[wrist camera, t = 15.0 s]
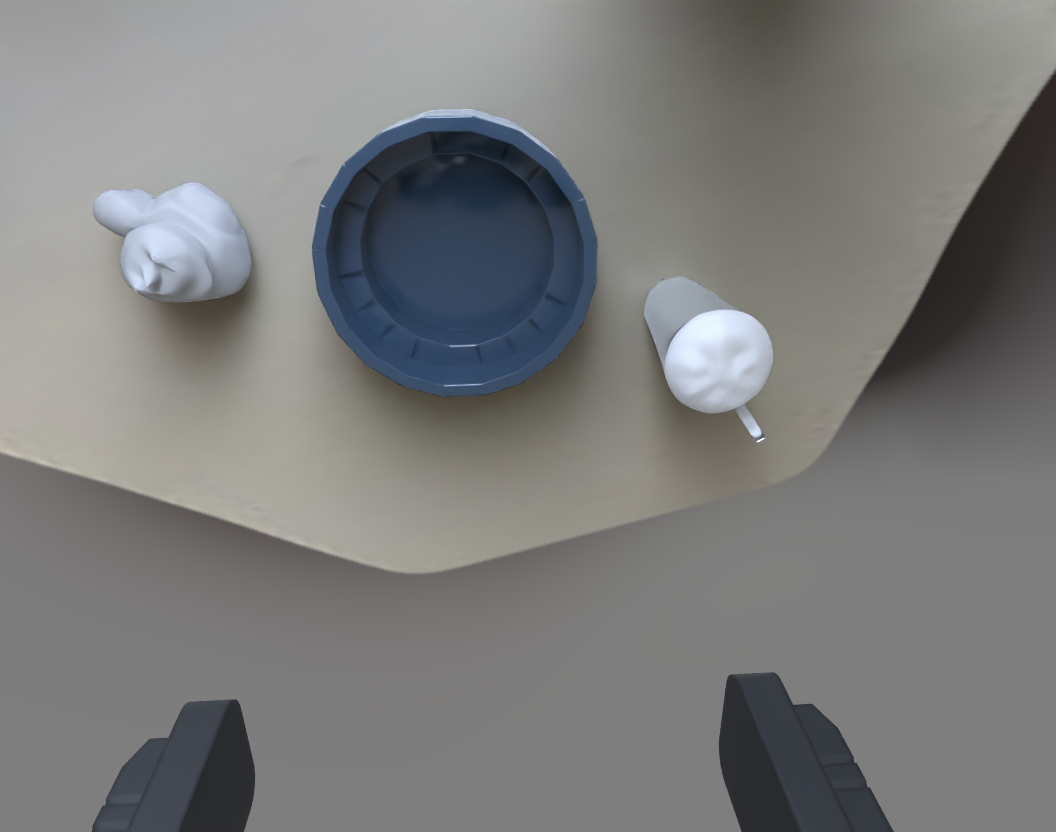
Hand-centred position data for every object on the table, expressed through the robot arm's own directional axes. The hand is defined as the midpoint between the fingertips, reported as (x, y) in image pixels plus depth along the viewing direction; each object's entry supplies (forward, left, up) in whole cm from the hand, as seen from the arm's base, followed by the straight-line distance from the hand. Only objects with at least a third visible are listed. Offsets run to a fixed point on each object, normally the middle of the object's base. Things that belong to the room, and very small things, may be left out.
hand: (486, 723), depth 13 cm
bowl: (-2, -1, -28) cm, 28 cm away
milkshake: (+2, +10, -28) cm, 30 cm away
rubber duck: (-3, -14, -28) cm, 31 cm away
